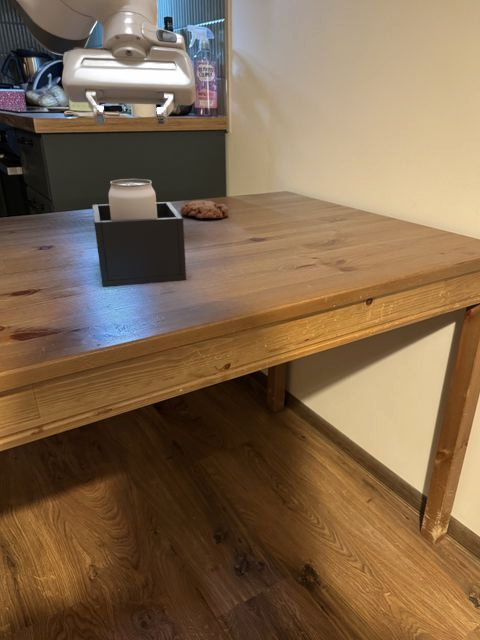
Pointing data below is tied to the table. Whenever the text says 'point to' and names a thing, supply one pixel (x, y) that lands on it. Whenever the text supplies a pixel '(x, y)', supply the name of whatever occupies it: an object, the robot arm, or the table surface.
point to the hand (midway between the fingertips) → (131, 120)
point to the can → (132, 199)
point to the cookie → (204, 209)
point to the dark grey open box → (140, 247)
